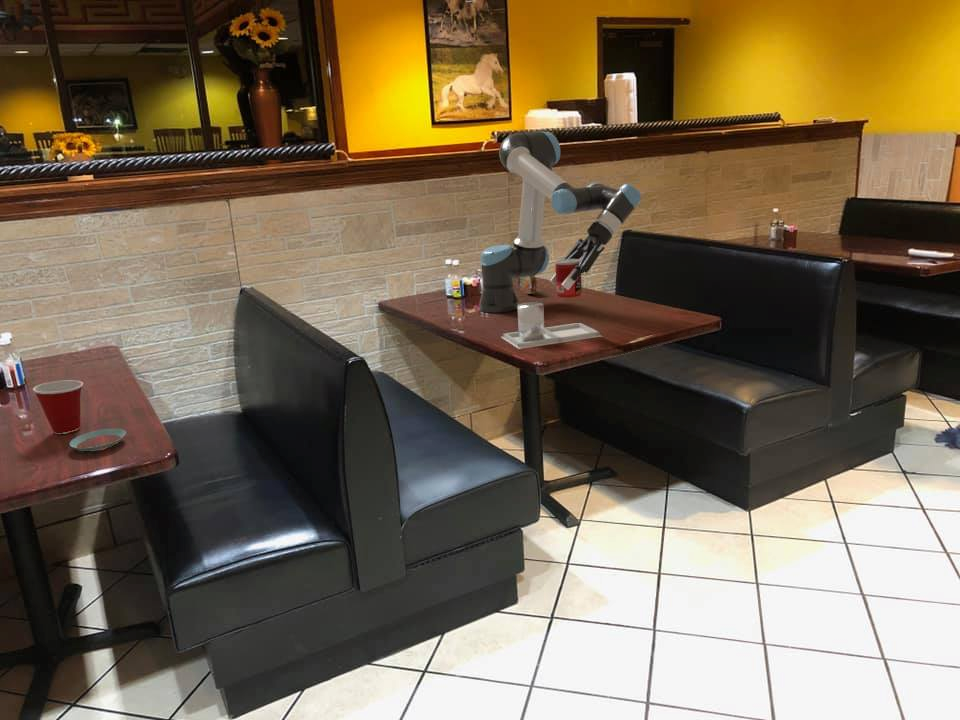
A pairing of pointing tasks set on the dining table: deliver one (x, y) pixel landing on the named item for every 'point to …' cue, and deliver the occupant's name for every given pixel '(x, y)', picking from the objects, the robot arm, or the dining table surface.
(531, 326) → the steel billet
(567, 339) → the divided white tray
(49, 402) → the plastic cup
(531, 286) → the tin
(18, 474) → the dining table surface
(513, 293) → the robot arm
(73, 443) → the saucer
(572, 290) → the canned food
